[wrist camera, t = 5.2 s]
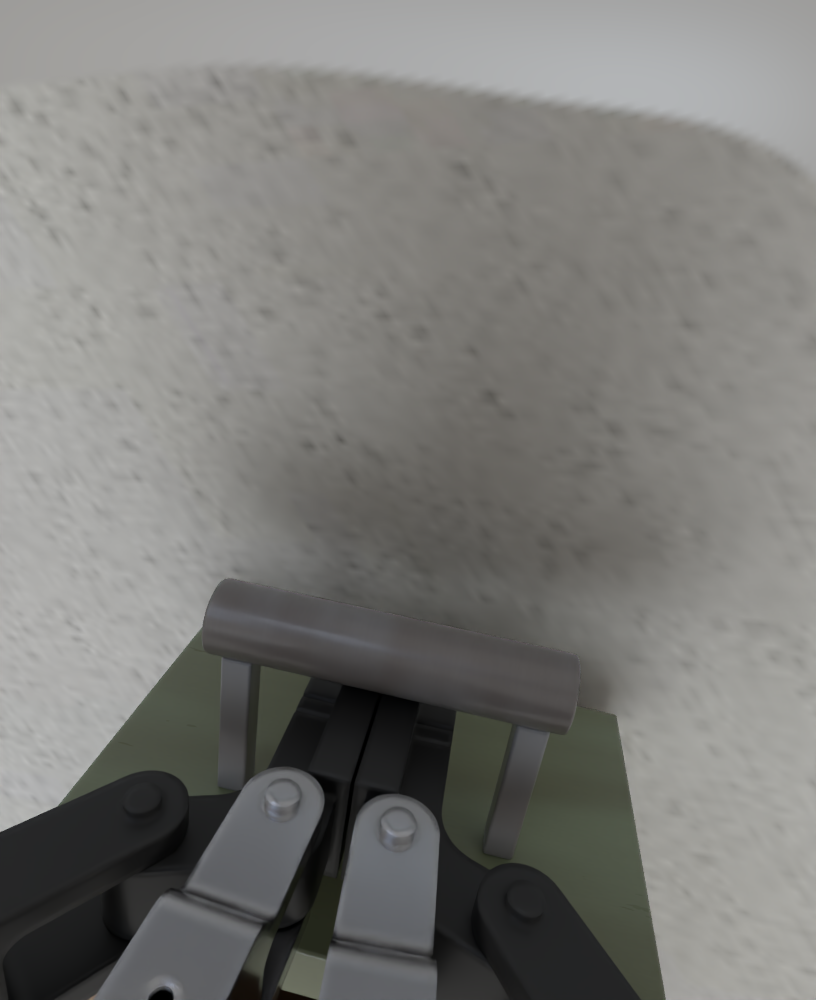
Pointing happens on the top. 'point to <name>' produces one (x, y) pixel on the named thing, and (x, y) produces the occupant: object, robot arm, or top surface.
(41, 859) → the robot arm
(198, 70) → the top surface
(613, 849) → the drawer
